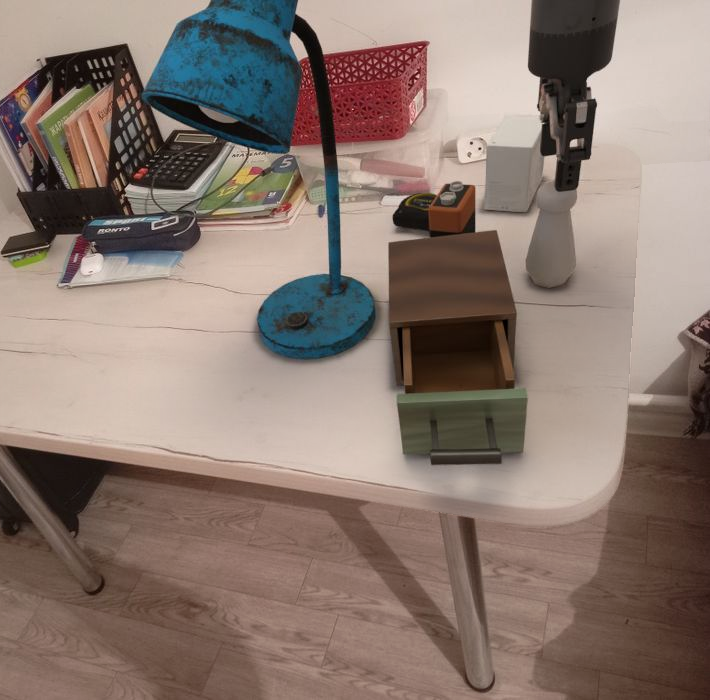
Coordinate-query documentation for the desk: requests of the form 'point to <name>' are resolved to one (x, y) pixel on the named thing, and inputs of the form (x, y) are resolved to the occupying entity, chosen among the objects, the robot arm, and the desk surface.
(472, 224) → the battery
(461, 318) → the cabinet
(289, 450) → the desk surface
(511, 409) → the drawer
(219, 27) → the desk lamp
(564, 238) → the salt shaker
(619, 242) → the desk surface
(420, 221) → the tape measure
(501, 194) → the cosmetics box
